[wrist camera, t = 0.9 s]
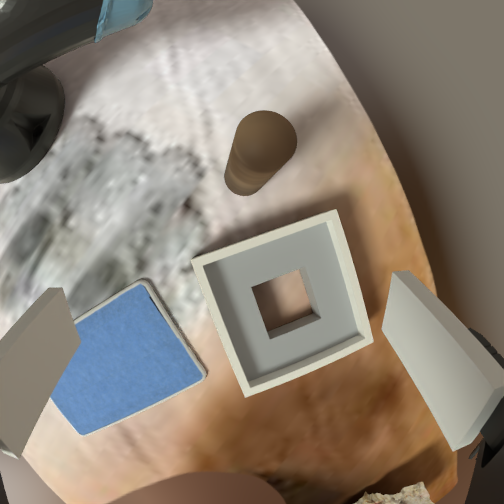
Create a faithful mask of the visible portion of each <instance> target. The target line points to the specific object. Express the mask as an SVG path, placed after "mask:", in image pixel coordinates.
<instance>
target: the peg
mask: <svg viewBox="0 0 504 504" xmlns="http://www.w3.org/2000/svg"><path fill="white" fill-rule="evenodd" d="M296 146H297V136H296V132H295V130H294V128H293V126H292V125H291V123H290V122H289V121H288V120H287V119H286V118H285V117H283V116H282V115H280V114H278V113H276V112H272V111H265V110H263V111H256V112H253V113H251V114H249V115H247V116H246V117H244V118H243V119H242V120H241V122H240V123H239V125H238V127H237V130H236V133H235V137H234V140H233V144H232V148H231V151H230V155H229V159H228V163H227V166H226V170H225V175H224V178H225V183H226V185H227V187H228V188H229V189H230V190H231V191H232V192H233V193H235V194H237V195H240V196H249V195H252V194H254V193H256V192H257V191H258V190H259V189H260V188H261V187H262V186H263V185H264V184H265V183H266V182H267V181H268V180H269V179H270V178H271V177H272V176H273V175H274V174H275V173H276V172H277V171H278V170H279V169H280V168H281V167H282V166H283V165H284V164H285V163H286V162H287V161H288V160H289V159H290V158H291V157H292V156H293V154H294V152H295V150H296Z"/></svg>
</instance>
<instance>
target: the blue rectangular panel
mask: <svg viewBox="0 0 504 504" xmlns="http://www.w3.org/2000/svg"><path fill="white" fill-rule="evenodd" d="M74 324H75V327H76V329H77V332H78V335H79V337H80V340H81V344H80V345H79V347H78V349H77V350H76V352H75V354H74V355H73V357H72V359H71V360H70V362H69V364H68V365H67V367H66V369H65V371H64V372H63V374H62V376H61V378H60V379H59V381H58V383H57V385H56V387H55V388H54V390H53V392H52V394H51V396H50V399H51V400H52V402H53V403H54V404H55V406H56V407H57V408H58V410H59V411H60V412H61V414H62V415H63V416H64V417H65V419H66V420H67V421H68V422H69V424H70V425H71V426H72V427H73V429H74V430H75V431H76V432H77V433H78V434H79V435H81V436H88V435H91V434H93V433H95V432H98V431H100V430H103V429H105V428H107V427H110V426H112V425H114V424H117V423H119V422H121V421H123V420H126V419H128V418H130V417H132V416H134V415H137V414H139V413H141V412H143V411H145V410H147V409H149V408H151V407H153V406H155V405H158V404H159V403H162V402H164V401H166V400H168V399H170V398H172V397H174V396H176V395H178V394H180V393H181V392H184V391H186V390H188V389H189V388H191V387H193V386H195V385H197V384H199V383H201V382H202V381H204V379H205V378H206V376H207V373H206V371H205V369H204V367H203V366H202V365H201V363H200V362H199V361H198V360H197V358H196V356H195V354H194V353H193V352H192V350H191V349H190V347H189V346H188V344H187V343H186V341H185V340H184V338H183V337H182V335H181V334H180V332H179V331H178V329H177V327H176V326H175V324H174V323H173V321H172V320H171V318H170V316H169V315H168V313H167V312H166V310H165V308H164V307H163V305H162V304H161V302H160V300H159V298H158V297H157V295H156V293H155V292H154V290H153V288H152V286H151V285H150V284H149V282H147V281H146V280H138V281H136V282H134V283H133V284H131V285H129V286H128V287H126V288H124V289H123V290H121V291H120V292H118V293H116V294H115V295H113V296H112V297H110V298H109V299H107V300H105V301H104V302H102V303H101V304H99V305H97V306H96V307H94V308H93V309H91V310H90V311H88V312H86V313H85V314H83V315H82V316H80V317H79V318H77V319H75V320H74Z"/></svg>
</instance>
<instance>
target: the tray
mask: <svg viewBox="0 0 504 504" xmlns="http://www.w3.org/2000/svg"><path fill="white" fill-rule="evenodd" d="M191 263H192V265H193V268H194V271H195V274H196V276H197V279H198V282H199V285H200V287H201V290H202V293H203V295H204V298H205V301H206V303H207V306H208V308H209V311H210V314H211V316H212V319H213V321H214V324H215V326H216V329H217V331H218V334H219V336H220V339H221V341H222V344H223V346H224V349H225V351H226V354H227V356H228V358H229V361H230V363H231V366H232V368H233V370H234V373H235V375H236V377H237V380H238V382H239V384H240V387H241V389H242V391H243V394H244V396H245V397H248V396H251V395H253V394H256V393H259V392H262V391H264V390H267V389H270V388H272V387H275V386H277V385H280V384H282V383H285V382H287V381H290V380H292V379H295V378H297V377H299V376H302V375H304V374H307V373H309V372H311V371H314V370H316V369H318V368H320V367H323V366H325V365H327V364H329V363H331V362H333V361H336V360H338V359H340V358H342V357H344V356H346V355H348V354H350V353H352V352H354V351H356V350H358V349H360V348H362V347H364V346H366V345H368V344H370V343H372V342H373V337H372V333H371V329H370V324H369V320H368V316H367V312H366V308H365V304H364V300H363V297H362V293H361V289H360V285H359V282H358V278H357V274H356V271H355V267H354V264H353V260H352V257H351V254H350V250H349V247H348V244H347V240H346V237H345V234H344V231H343V228H342V225H341V221H340V218H339V215H338V212H337V209H334V210H330V211H326V212H322V213H319V214H316V215H313V216H310V217H307V218H304V219H302V220H299V221H296V222H293V223H290V224H287V225H284V226H281V227H278V228H276V229H273V230H270V231H267V232H264V233H261V234H258V235H256V236H253V237H250V238H247V239H244V240H241V241H239V242H236V243H233V244H230V245H227V246H224V247H222V248H219V249H216V250H213V251H210V252H208V253H205V254H202V255H199V256H196V257H194V258H192V259H191ZM298 269H299V270H300V273H301V276H302V279H303V282H304V286H305V289H306V292H307V295H308V298H309V301H310V304H311V308H312V311H313V313H312V314H310V315H308V316H305V317H303V318H300V319H298V320H295V321H293V322H291V323H288V324H286V325H283V326H281V327H278V328H275V329H273V330H270V331H268V332H267V330H266V328H265V325H264V322H263V319H262V316H261V314H260V311H259V308H258V305H257V302H256V300H255V297H254V294H253V291H252V288H251V287H253V286H255V285H258V284H261V283H263V282H266V281H269V280H271V279H274V278H277V277H279V276H282V275H284V274H287V273H290V272H292V271H295V270H298Z"/></svg>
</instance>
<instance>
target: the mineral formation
mask: <svg viewBox="0 0 504 504" xmlns="http://www.w3.org/2000/svg"><path fill="white" fill-rule="evenodd" d="M429 496H430V495H429V493H428V492H427V490H426V488H425V486H424V482H418V483H417V484H415V485H411V486H408V487H404V488H403V489H402V490H401V492H400V493H397V494H394V495H388V494H385V495H382V494H380V493H376V494H373V493H372V494H370V495H368V494H367V492H366V491H365V493H364V496H363V497H362V498H360V499H359V500H358V501H357V503H354V504H434V503H433V502H431V500H430V499H429Z"/></svg>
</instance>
